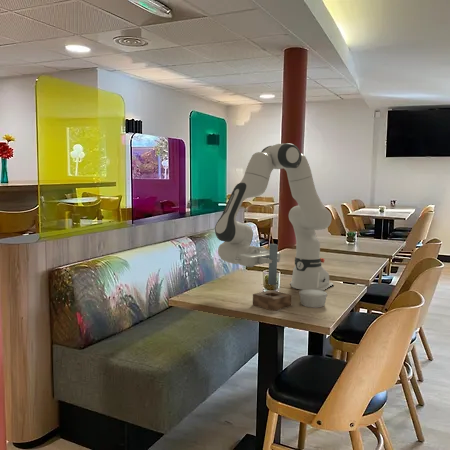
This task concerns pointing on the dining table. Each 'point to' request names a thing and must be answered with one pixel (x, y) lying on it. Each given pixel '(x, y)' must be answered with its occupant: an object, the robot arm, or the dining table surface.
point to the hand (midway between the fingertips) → (274, 260)
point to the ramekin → (313, 298)
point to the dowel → (273, 264)
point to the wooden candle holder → (272, 300)
